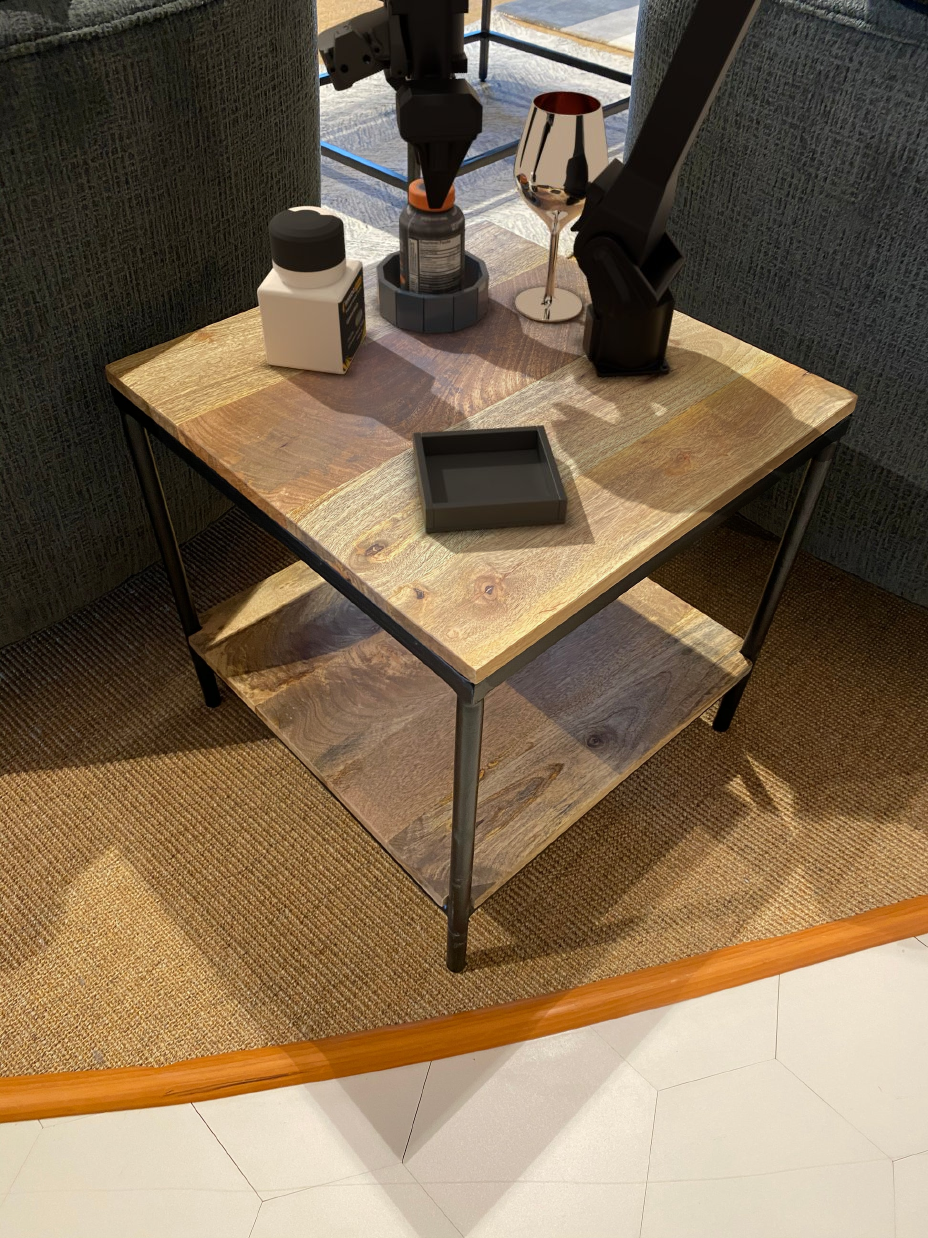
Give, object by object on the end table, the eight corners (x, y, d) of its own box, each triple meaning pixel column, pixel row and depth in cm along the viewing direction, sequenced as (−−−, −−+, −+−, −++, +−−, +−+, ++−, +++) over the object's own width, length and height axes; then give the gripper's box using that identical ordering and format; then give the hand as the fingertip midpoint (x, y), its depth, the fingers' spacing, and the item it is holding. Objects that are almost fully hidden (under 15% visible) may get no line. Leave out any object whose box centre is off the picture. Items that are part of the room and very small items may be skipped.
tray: (541, 448, 78) (543, 424, 76) (565, 523, 72) (568, 499, 70) (413, 455, 77) (412, 432, 75) (425, 533, 71) (425, 509, 69)
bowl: (478, 277, 97) (479, 243, 95) (493, 330, 90) (495, 294, 88) (375, 281, 96) (373, 247, 94) (382, 335, 89) (381, 299, 87)
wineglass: (487, 303, 94) (496, 100, 81) (545, 276, 98) (562, 79, 85) (551, 336, 90) (571, 128, 77) (608, 306, 94) (637, 104, 81)
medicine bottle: (345, 376, 85) (335, 240, 76) (266, 365, 85) (247, 230, 77) (367, 334, 89) (360, 202, 81) (292, 324, 90) (277, 193, 82)
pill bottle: (413, 285, 96) (412, 166, 88) (471, 296, 95) (475, 176, 87) (391, 314, 92) (387, 192, 84) (452, 325, 91) (453, 203, 83)
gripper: (314, -55, 79) (329, 147, 90) (323, 11, 66) (340, 238, 78) (451, -57, 80) (449, 143, 92) (487, 8, 68) (480, 231, 79)
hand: (428, 185), depth 85 cm, fingers open, 9 cm apart
